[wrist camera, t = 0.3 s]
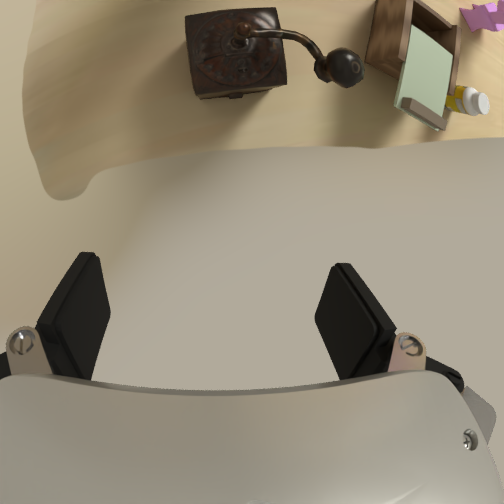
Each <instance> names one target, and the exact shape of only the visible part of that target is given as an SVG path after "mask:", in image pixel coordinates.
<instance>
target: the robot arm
mask: <svg viewBox="0 0 504 504" xmlns="http://www.w3.org/2000/svg"><path fill="white" fill-rule="evenodd" d="M110 313H111V312H110V306H109V301H108V297H107V293H106V288H105V284H104V279H103V274H102V269H101V263H100V258H99V257H98V256H96V255H95V253H93V252H81V253H79V255H78V256H77V258H76V259H75V261H74V262H73V263H72V265H71V267H70V268H69V270H68V271H67V272H66V274H65V276H64V277H63V279H62V280H61V282H60V284H59V285H58V287H57V288H56V290H55V291H54V293H53V295H52V296H51V298H50V300H49V301H48V303H47V305H46V306H45V308H44V310H43V312H42V314H41V316H40V317H39V319H38V321H37V325H36V327H35V328H32V327H29V326H23V327H20V328H18V329H16V330H14V331H13V332H12V333H11V334H10V335H9V337H8V339H7V342H6V352H4V353H2V354H0V504H504V489H503V486H502V483H501V480H500V477H499V474H498V471H497V468H496V465H495V462H494V459H493V457H492V454H491V452H490V450H489V447H488V442H489V439H490V437H491V434H492V431H493V428H494V425H495V422H496V412H495V411H494V408H493V407H492V406H491V405H490V404H489V403H487V402H486V401H485V400H484V399H483V398H481V397H480V396H479V395H478V394H476V393H475V392H474V391H473V390H472V389H470V388H469V387H468V386H466V387H465V388H464V381H463V378H462V377H461V375H460V374H459V372H457V371H456V370H454V369H452V368H450V367H448V366H446V365H444V364H442V363H440V362H438V361H436V360H434V359H432V358H429V357H427V356H426V347H425V345H424V343H423V342H422V341H421V340H420V339H419V338H418V337H417V336H415V335H413V334H410V333H405V332H403V333H399V334H398V335H397V336H396V334H395V333H394V332H395V331H396V329H397V328H396V326H395V325H394V323H393V322H392V320H391V319H390V318H389V316H388V315H387V313H386V312H385V310H384V309H383V307H382V306H381V305H380V303H379V302H378V301H377V299H376V298H375V296H374V295H373V293H372V292H371V291H370V289H369V288H368V287H367V285H366V284H365V282H364V281H363V280H362V279H361V277H360V276H359V275H358V273H357V272H356V271H355V269H354V268H353V267H352V265H351V264H349V263H336V264H335V266H333V267H331V270H330V272H329V276H328V279H327V281H326V284H325V288H324V291H323V293H322V296H321V299H320V302H319V304H318V307H317V310H316V313H315V323H316V325H317V327H318V329H319V332H320V334H321V336H322V339H323V341H324V343H325V346H326V348H327V350H328V353H329V355H330V357H331V360H332V362H333V365H334V367H335V369H336V372H337V374H338V377H339V379H340V380H339V381H333V382H326V383H319V384H311V385H303V386H294V387H282V388H270V389H253V390H218V391H217V390H214V391H213V390H212V391H211V390H205V391H204V390H176V389H159V388H147V387H136V386H128V385H119V384H112V383H104V382H97V381H91V378H92V374H93V370H94V366H95V363H96V360H97V356H98V353H99V349H100V346H101V343H102V340H103V337H104V334H105V330H106V327H107V324H108V322H109V319H110Z"/></svg>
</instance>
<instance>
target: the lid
mask: <svg viewBox="0 0 504 504" xmlns="http://www.w3.org/2000/svg"><path fill="white" fill-rule="evenodd" d="M452 57H453V55H451V54H450V53H449V52H448V51H447V50H446V49H444V48H443V47H442V46H441V45H439V44H438V43H437V42H435V41H434V40H433V39H432V38H430V37H429V36H428V35H426V34H425V33H423V32H422V31H421V30H419V29H418V28H416V27H415V26H413V25H412V24H411V26H410V33H409V40H408V46H407V52H406V58H405V62H403V64H402V69H401V74H400V78H399V83H398V88H397V92H396V96H395V101H394V105H393V106H394V107H396V108H397V109H399V110H401V111H403V112H405V113H407V114H408V115H410V116H412V117H414V118H416V119H417V120H419V121H421V122H422V123H424V124H426V125H427V126H429V127H431V128H432V129H434V130H435V131H439V129H440V130H444V131H445V129H446V125H447V120H445V119H444V118H442V115H443V110H444V105H445V101H446V96H447V90H448V85H449V79H450V72H451V65H452Z"/></svg>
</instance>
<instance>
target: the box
mask: <svg viewBox="0 0 504 504" xmlns="http://www.w3.org/2000/svg"><path fill="white" fill-rule="evenodd" d="M411 24H412V25H413V26H415V27H416V28H418V29H419V30H421V31H422V32H423V33H425V34H426V35H428V36H429V37H430V38H432V39H433V40H434V41H435V42H437V43H438V44H439V45H441V46H442V47H443V48H444V49H446V50H447V51H448V52H449V53H450V54H451V55H453V57H452V65H451V72H450V79H449V85H448V90H447V95H449V96H454V91H455V85H456V79H457V72H458V64H459V55H460V44H461V28H460V27H459V26H457V25H451V24H450V23H449V22H447V21H446V20H445V19H444V18H443V17H441V16H440V15H439V14H438V13H436V12H435V11H434V10H433V9H431V8H430V7H429V6H427V5H426V4H425V3H423V2H422V1H420V0H376V5H375V11H374V17H373V22H372V27H371V33H370V38H369V43H368V47H367V52H366V57H365V61H364V62H365V63H367V64H369V65H371V66H373V67H375V68H377V69H379V70H381V71H383V72H385V73H387V74H388V75H390V76H392V77H394V78H396V79H397V80H399V78H400V74H401V69H402V64H403V62H405V58H406V52H407V46H408V40H409V33H410V26H411Z"/></svg>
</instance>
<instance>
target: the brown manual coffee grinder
mask: <svg viewBox="0 0 504 504" xmlns="http://www.w3.org/2000/svg"><path fill="white" fill-rule="evenodd" d="M185 33H186V41H187V49H188V57H189V65H190V72H191V78H192V83H193V88H194V91H195V94H196V96H198V97H199V98H200V100H201V99H210V98H221V97H229V99H236V98H242V96H243V94H248V93H255V92H262V91H266V90H270V89H272V88H276V87H279V86H282V85H287V70H286V61H285V54H284V48H283V41H282V39H290V40H295V41H297V42H299V43H301V44H302V45H303V46H304V47H306V48H307V49H308V51H309V52H310V53H311V55H312V56H313V57H314V59H315V60H316V61H315V63H314V71H315V73H316V75H317V77H318V78H319V79H321V80H322V81H324V82H326V83H328V82H331V81H333V82H335V83H337V84H338V85H340V86H341V87H344V88H348V87H351V86H354V85H355V84H356V83H359V82H360V81H361V80H362V79H363V77H364V71H365V70H364V66H363V63H362V60H361V59H360V57H359V56H358V55H357V54H355V53H354V52H352V51H351V50H349V49H346V48H338V49H335V50H333V51H331V52H329V53H328V55H327V57H325V56H323V54H322V53H321V51H320V49H319V48H318V47H317V45H316V44H315V43H314V42H313V41H312V40H310V39H309V38H308V37H306V36H305V35H303V34H300V33H298V32H296V31H290V30H283V29H281V27H280V23H279V19H278V14H277V10H276V7H270V8H244V9H228V10H218V11H212V12H207V13H201V14H194V15H188V16H185Z"/></svg>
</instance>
